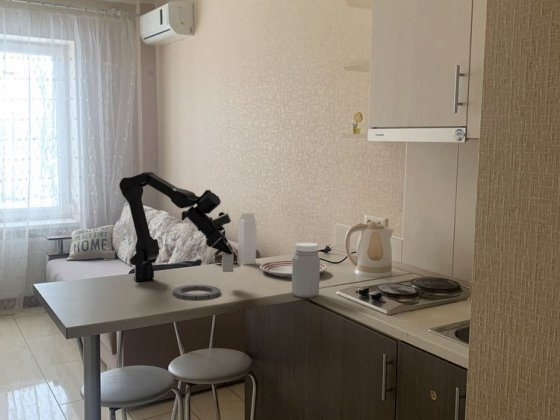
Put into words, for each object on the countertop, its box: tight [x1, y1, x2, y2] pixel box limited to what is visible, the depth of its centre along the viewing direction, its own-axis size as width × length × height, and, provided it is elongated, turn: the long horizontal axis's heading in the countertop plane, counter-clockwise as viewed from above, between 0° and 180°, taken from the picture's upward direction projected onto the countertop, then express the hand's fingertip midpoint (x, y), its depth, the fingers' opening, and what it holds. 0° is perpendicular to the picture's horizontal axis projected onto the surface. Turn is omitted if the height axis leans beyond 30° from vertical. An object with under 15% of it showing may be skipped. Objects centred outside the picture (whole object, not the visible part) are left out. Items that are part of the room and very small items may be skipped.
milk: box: [237, 212, 257, 266], centre depth 262 cm, size 6×6×22 cm
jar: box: [291, 241, 321, 299], centre depth 210 cm, size 10×10×18 cm
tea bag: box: [221, 241, 234, 273], centre depth 216 cm, size 4×7×10 cm, turn 8°
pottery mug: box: [213, 249, 239, 265], centre depth 263 cm, size 12×9×8 cm
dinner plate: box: [259, 259, 328, 279], centre depth 246 cm, size 27×27×3 cm
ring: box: [172, 284, 221, 301], centre depth 208 cm, size 16×16×1 cm
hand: (231, 252), depth 216 cm, fingers closed on tea bag, 7 cm apart
